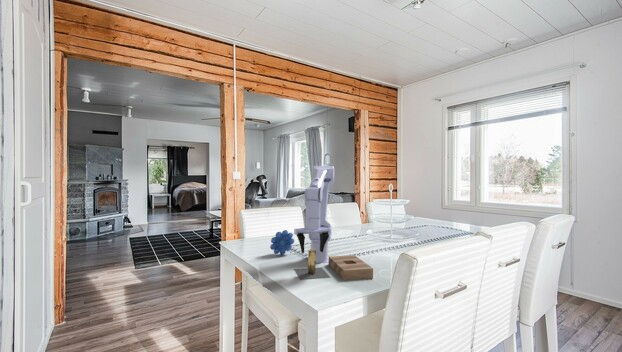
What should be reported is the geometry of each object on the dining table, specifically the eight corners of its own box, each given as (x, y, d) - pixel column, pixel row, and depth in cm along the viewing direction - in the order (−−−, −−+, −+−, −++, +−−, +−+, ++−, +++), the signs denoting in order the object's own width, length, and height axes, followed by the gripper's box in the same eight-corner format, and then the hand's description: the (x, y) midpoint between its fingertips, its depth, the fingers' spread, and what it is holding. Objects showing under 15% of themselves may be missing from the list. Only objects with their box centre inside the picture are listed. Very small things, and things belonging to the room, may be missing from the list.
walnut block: (328, 265, 125) (328, 256, 125) (354, 264, 128) (354, 255, 128) (343, 281, 108) (343, 270, 108) (372, 278, 111) (373, 268, 111)
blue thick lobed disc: (293, 251, 145) (293, 228, 145) (294, 255, 139) (295, 230, 139) (269, 252, 143) (270, 228, 143) (270, 256, 137) (270, 231, 137)
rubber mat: (293, 270, 118) (293, 269, 118) (321, 268, 121) (321, 267, 121) (300, 281, 106) (300, 279, 106) (330, 278, 110) (330, 277, 110)
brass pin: (307, 272, 115) (307, 249, 115) (314, 271, 116) (314, 249, 116) (308, 274, 112) (309, 251, 112) (316, 274, 113) (316, 251, 113)
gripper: (297, 219, 108) (296, 255, 108) (333, 218, 112) (332, 253, 112) (293, 216, 115) (292, 250, 115) (328, 216, 118) (327, 249, 118)
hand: (312, 252), depth 114 cm, fingers open, 7 cm apart
